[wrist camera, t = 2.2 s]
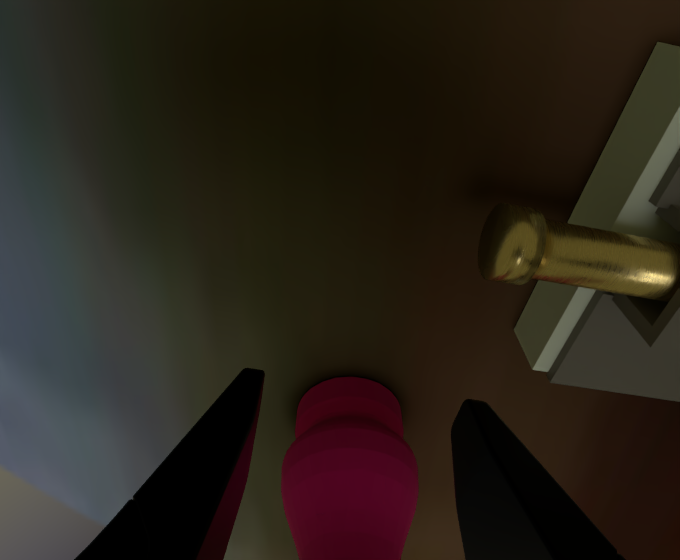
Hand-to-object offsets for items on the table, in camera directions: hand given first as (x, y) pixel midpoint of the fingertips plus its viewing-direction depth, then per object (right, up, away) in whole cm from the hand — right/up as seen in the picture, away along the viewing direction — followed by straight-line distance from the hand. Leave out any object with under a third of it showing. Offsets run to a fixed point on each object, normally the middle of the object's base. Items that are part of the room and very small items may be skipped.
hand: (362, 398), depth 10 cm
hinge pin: (+12, +3, +9) cm, 16 cm away
